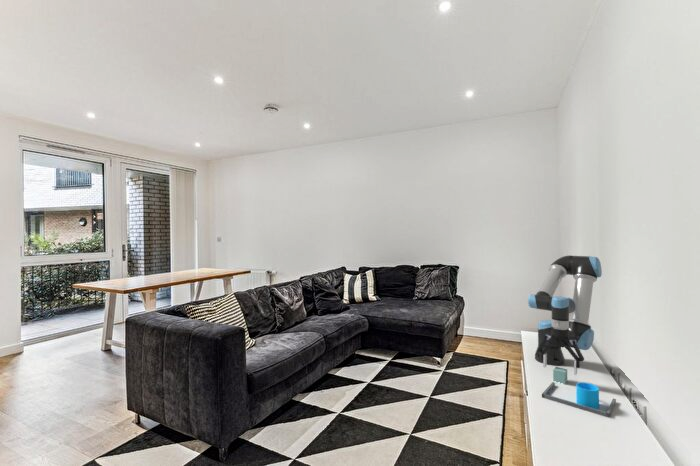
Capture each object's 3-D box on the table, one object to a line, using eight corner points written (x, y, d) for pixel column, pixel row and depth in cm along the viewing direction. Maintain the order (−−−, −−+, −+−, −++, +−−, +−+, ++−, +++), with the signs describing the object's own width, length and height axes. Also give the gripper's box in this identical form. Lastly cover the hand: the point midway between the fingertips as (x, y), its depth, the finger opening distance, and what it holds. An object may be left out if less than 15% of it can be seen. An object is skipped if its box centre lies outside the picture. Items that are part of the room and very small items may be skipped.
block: (556, 378, 180) (556, 366, 180) (567, 381, 176) (567, 369, 176) (553, 381, 176) (553, 369, 176) (564, 384, 173) (564, 372, 173)
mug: (600, 411, 147) (600, 392, 147) (577, 407, 151) (577, 388, 151) (596, 399, 158) (596, 381, 158) (574, 395, 162) (574, 377, 162)
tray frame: (552, 385, 172) (552, 382, 172) (615, 402, 155) (615, 399, 155) (541, 397, 160) (541, 394, 160) (609, 417, 142) (609, 414, 142)
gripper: (530, 324, 182) (530, 365, 182) (587, 334, 165) (587, 379, 165) (535, 322, 187) (535, 361, 187) (591, 331, 170) (591, 375, 170)
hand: (559, 370), depth 176 cm, fingers open, 13 cm apart
